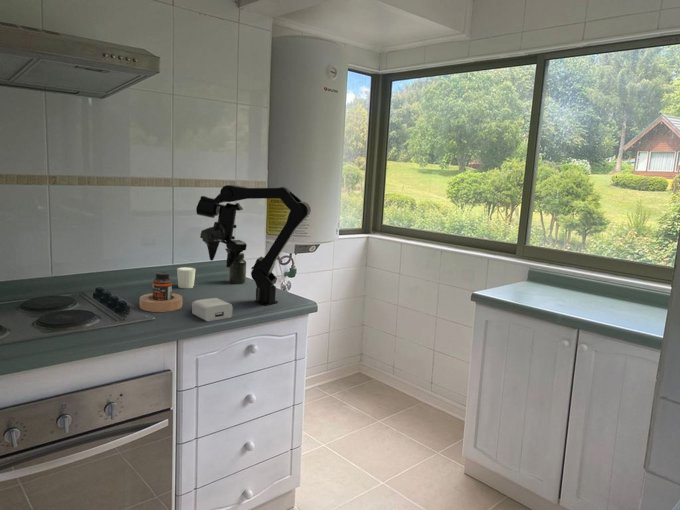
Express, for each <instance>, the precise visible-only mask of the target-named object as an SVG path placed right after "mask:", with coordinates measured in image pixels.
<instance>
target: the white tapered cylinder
mask: <svg viewBox="0 0 680 510" xmlns="http://www.w3.org/2000/svg"><path fill="white" fill-rule="evenodd" d="M176 272H177V273H176V275H177V285H178V286H177V287H178V288H180V289H192V288H194V287H193V286H195V277H196V276H195V275H196V268H195V267H188V266H187V267H185V266H183V267H178V268H176Z"/></svg>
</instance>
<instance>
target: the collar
mask: <svg viewBox="0 0 680 510" xmlns="http://www.w3.org/2000/svg"><path fill="white" fill-rule="evenodd" d="M152 298H153V292H151V293H147V294H146V293H145V294H144V295H141V296H140V297H139V309H140V310H143V311H147V312H151V313H152V312H153V313H164V312H174V311H177V310H180V309H182V308H183V296H182V295H181V294H178V293H172V297H171V300H165V301H156V300H152Z"/></svg>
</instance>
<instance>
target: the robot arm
mask: <svg viewBox="0 0 680 510" xmlns="http://www.w3.org/2000/svg"><path fill="white" fill-rule="evenodd" d="M219 192H220V193H219V194H218V195H217V196H215V198H212V197H208V196H205V195H201V196H200V198H199V201H198V203H197V205H196V210H195V211H196V215H198V216H202V217H207V218H212V219H214V218H215V217H216V216H217V218H218V219H217V221H214V224H213V226H212V227H208V228H205V229H203V230H201V232H200V238H201V240H202V242H204V244H206V247H207V251H208V255H209V256H208V257H209V261H214V259H215V257H216V254H217V252H218V249H219V248H218V247H219V245H220V243H222V244H225V247H226V248H225V251H226V253H227V256H226V265H225V266H226V268H228V269H229V267H230V266H231V264H232V263H233V261H234V260H235V259H236V257H237V256H238V255H239V254H240V253H244V251H246V250H247V246H248V245H247V243H246V241H243V240H240V239H235V238H236V237H235V235H233V233H234V229H237V224H235V223H236V221H235V220H236V214H237V212H238V211H239V212H240V211H243V207H242V206H241V204H240V202H237V201H243V200H247V199H250V200H253V199H280V201H281V202H282V203H283V204H284V205H285V206H286V207H287V209H289V210H290V211H289V213H288V216H287V219H286V221H285V224H284V226H283V227H282V229H281V231H280V232H279V234H278V236H277V237H276V238H275V240H274V242H273V243H272V244H271V247H270V248H269V250H268V251H267V253H266V254H265V255H264V257H263V256H260V257H258V258H257V259H256V261H255V263H254V265H253V266H252V267H251V268H250V269H251V271H250V276H251V279H252V280H253V281H254V282H255V285H256V288H255V299H253V300H252V302H253V303H256V304H259V305H264V306H270V305H273V304H277V303H279V301H278V300H277V299H276V295H277V294H276V292H277V286H276V283H277V281H278V277H277V276H276V275H275V274H274V273H273V270H274V267H275V264H276V261H277V260H278V258H279V256H280V255H281V253H282V251H283V249H284V248H285V247H286V245H287V243H288V242H289V241H290V239H291V237H292V235H293V234H294V232H295V231H296V229H297V228H299V226H300V225H301V224H302V223H303V222H304V221H305V220H306V219H307V218H308V217H309V215H310V214H311V206H310V205H309V203H308V202H306V201H302V200H301V199H300V198H299V197H298V196H296V195H295V194H294V193H293V192H292V191H291V190H290V189H289V187H286V186H281V187H246V186H241V185H236V184H229V185H228V184H227V185H224V186H222V187H221V189H220V191H219ZM231 202H236V203H235V204H234V203H231ZM223 203H226V204H223Z"/></svg>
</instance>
